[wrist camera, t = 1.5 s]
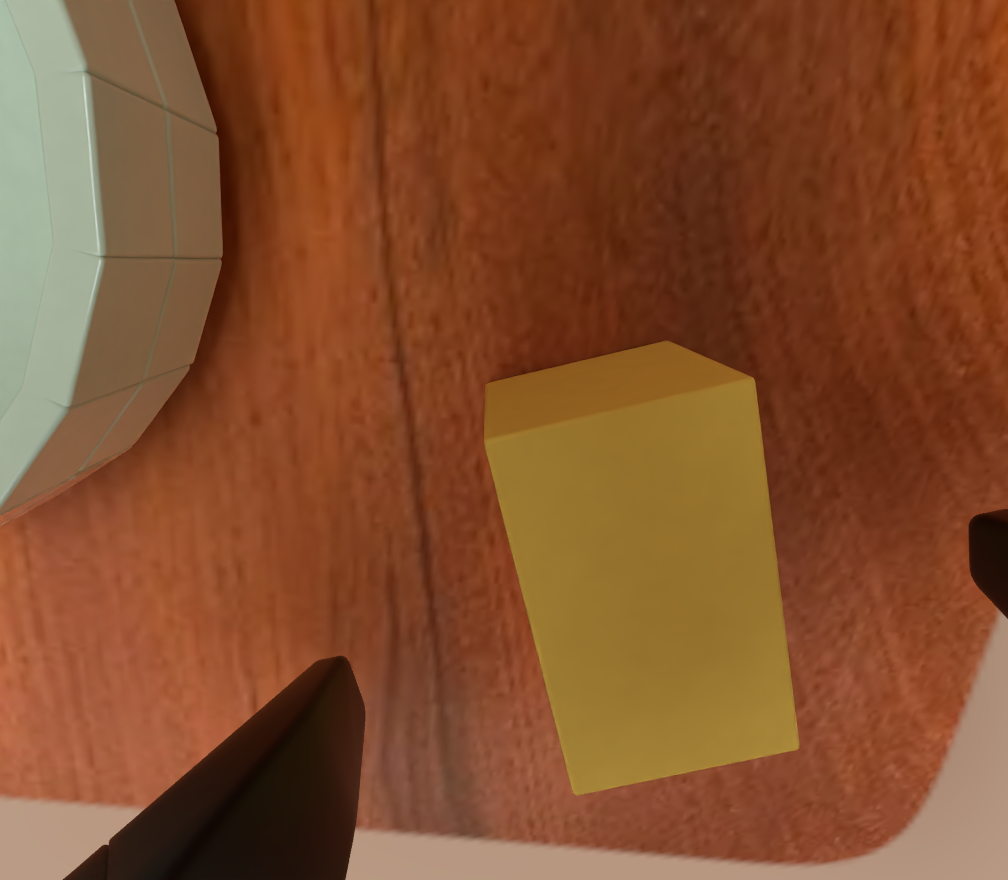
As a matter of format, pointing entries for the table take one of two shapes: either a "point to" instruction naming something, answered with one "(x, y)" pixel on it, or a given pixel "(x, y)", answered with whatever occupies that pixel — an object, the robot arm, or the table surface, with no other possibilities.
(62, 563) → the table surface
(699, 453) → the sponge
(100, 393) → the bowl
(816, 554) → the table surface
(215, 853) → the robot arm
